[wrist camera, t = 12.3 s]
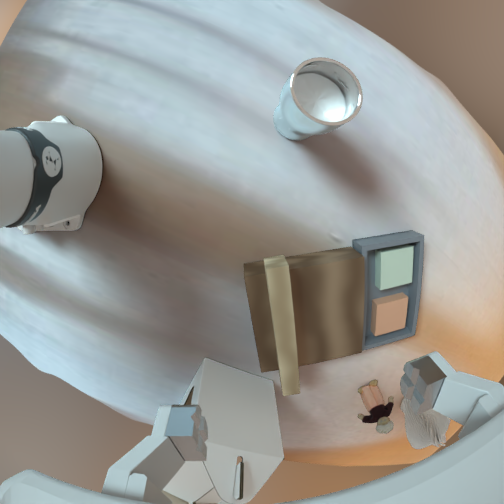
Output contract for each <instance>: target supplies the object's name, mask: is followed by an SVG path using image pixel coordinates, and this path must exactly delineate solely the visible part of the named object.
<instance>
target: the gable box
mask: <svg viewBox="0 0 504 504" xmlns="http://www.w3.org/2000/svg"><path fill="white" fill-rule="evenodd" d="M179 405H199V406H200V408H201V410H202V412H201V415H202V416H203V417H205V419H206V422H207V426H208V439H207V440H206V441H205V444H206V446H207V457H206V461H185V463H184V464H183V466H182V467H181V468H180V469H179V471H178V472H177V473H176V474H175V476H174V477H173V478H172V479H171V480H170V482H169V483H168V484H167V485H166V486H165V488H164V489H163V490H162V491H161V492H163V493H164V494H165V495H166V496H167V497H168V498H169V499H170V500H171V501H172V504H189V503H190V504H245V503H247V502H249V501H250V500H252V498H253V497H254V496H255V495H256V494H257V492H258V491H259V490H260V489H261V487H262V486H263V485H264V484H265V482H266V481H267V480H268V479H269V477H270V476H271V475H272V473H273V472H274V471H275V469H276V468H277V467H278V465H279V464H280V463H281V461H283V460H284V452H283V445H282V438H281V431H280V424H279V418H278V411H277V404H276V397H275V390H274V383H273V381H272V380H269V379H266V378H262V377H259V376H256V375H253V374H250V373H247V372H244V371H241V370H238V369H236V368H233V367H230V366H227V365H224V364H222V363H219V362H216V361H214V360H211V359H209V358H204V360H203V361H202V363H201V365H200V367H199V369H198V371H197V373H196V375H195V376H194V378H193V380H192V382H191V384H190V386H189V388H188V389H187V391H186V393H185V395H184V397H183V399H182V401H181V402H180V404H179ZM238 456H240V457H242V462H240V463H239V464H238V465H237V466H236V463H237V457H238Z"/></svg>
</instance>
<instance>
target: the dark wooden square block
mask: <svg viewBox="0 0 504 504" xmlns="http://www.w3.org/2000/svg"><path fill="white" fill-rule="evenodd" d="M285 259H286V261H287V263H288V265H289V273H290V282H291V292H292V302H293V312H294V322H295V333H296V345H297V357H298V366H303V365H308V364H313V363H318V362H323V361H328V360H332V359H337V358H341V357H345V356H349V355H353V354H357V353H361V352H362V341H363V323H364V291H365V264H364V256H363V255H362V254H360V253H359V252H358V251H356V250H355V249H354V248H352V247H346V248H340V249H333V250H327V251H321V252H315V253H309V254H303V255H296V256H290V257H285ZM244 279H245V285H246V290H247V296H248V302H249V307H250V313H251V319H252V324H253V330H254V335H255V341H256V346H257V352H258V357H259V362H260V368H261V372H268V371H275V370H279V367H278V360H277V352H276V345H275V337H274V330H273V323H272V315H271V308H270V301H269V294H268V287H267V280H266V273H265V266H264V261H259V262H252V263H246V264H244Z"/></svg>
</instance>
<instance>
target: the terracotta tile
mask: <svg viewBox="0 0 504 504" xmlns="http://www.w3.org/2000/svg"><path fill="white" fill-rule="evenodd" d="M407 306H408V296H407V295H405V294H404V293H403V292H401V293H397V294H393V295H389V296H385V297H381V298H377V299H373V300H372V312H371V329H370V330H371V332H372V333H373V334H374V336H378V335H382V334H385V333H389V332H392V331H396V330H399V329H402V328H405V323H406V315H407Z"/></svg>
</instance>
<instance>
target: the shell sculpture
mask: <svg viewBox="0 0 504 504" xmlns="http://www.w3.org/2000/svg"><path fill="white" fill-rule="evenodd" d="M400 408H401V410H402V412H403V413H404V414H405V429H406V434H407V438H408V441H409V442H410V444H411V446H412V447H413V448H415V449H422V448H424V447H427V446H430V445H435V446H437V447H440V446H441V445H443V446H446V445H445V444H442V443H445V442H446V440H445V439H446V437H445V433H446V431H447V430H448V426H449V424H450V419H449V418H448V417H446V416H444V415H442V414H441V413H439V412H437V411H435V410H433V408H432V409H430V410H428V411H425V412H423V413H421V414H420V415H419V414H418V415H416V414H415V413H414V411H413V409H412V408H411V406H410V400H409V399H407V398H405V397H404V399H403V401H402V403H401V406H400ZM440 442H442V443H440ZM439 444H440V446H439Z"/></svg>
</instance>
